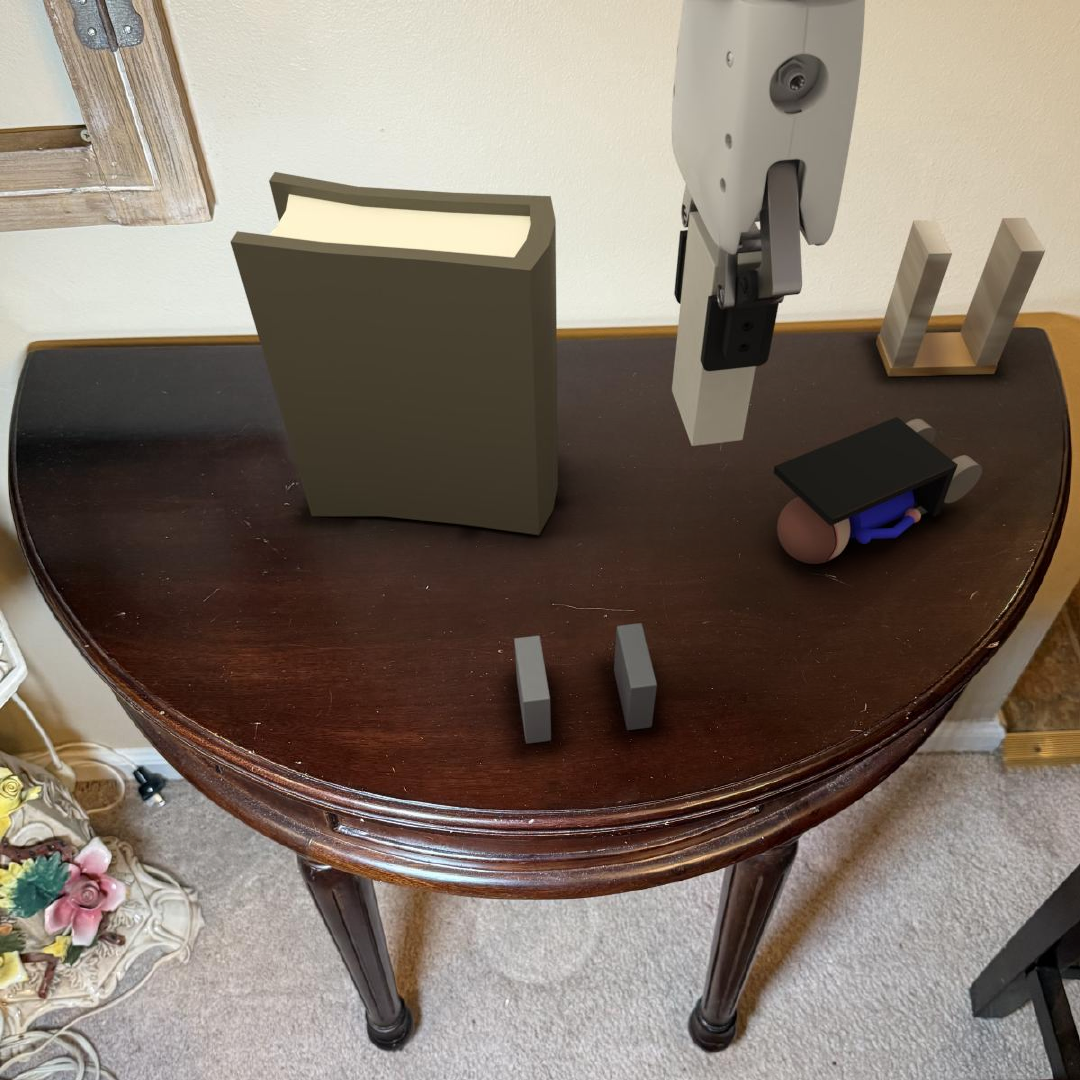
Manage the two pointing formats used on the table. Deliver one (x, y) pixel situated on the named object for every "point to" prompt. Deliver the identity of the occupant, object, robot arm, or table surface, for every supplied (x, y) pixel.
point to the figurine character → (867, 488)
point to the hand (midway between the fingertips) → (719, 327)
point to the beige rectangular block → (701, 396)
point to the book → (412, 349)
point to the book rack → (986, 316)
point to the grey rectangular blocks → (629, 672)
